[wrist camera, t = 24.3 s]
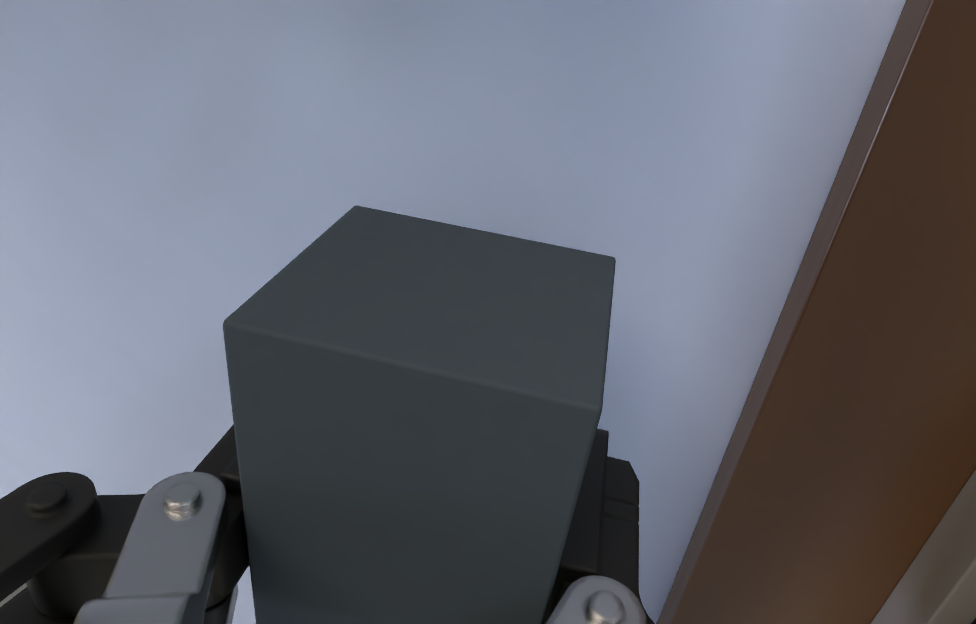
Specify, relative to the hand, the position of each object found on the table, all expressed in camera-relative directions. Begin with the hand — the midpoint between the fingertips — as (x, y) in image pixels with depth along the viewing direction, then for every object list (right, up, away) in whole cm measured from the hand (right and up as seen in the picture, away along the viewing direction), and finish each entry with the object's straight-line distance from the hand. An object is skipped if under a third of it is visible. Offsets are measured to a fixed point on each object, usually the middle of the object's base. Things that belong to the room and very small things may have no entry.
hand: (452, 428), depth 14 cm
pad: (0, 0, 0) cm, 0 cm away
